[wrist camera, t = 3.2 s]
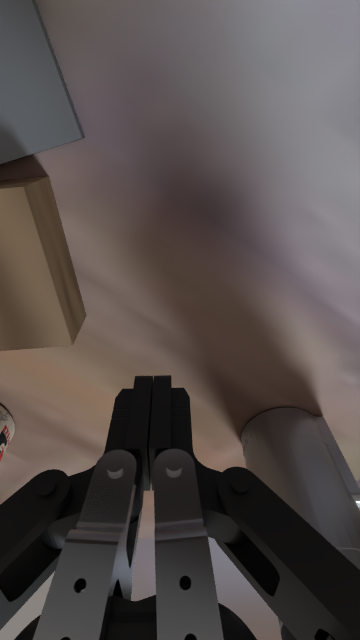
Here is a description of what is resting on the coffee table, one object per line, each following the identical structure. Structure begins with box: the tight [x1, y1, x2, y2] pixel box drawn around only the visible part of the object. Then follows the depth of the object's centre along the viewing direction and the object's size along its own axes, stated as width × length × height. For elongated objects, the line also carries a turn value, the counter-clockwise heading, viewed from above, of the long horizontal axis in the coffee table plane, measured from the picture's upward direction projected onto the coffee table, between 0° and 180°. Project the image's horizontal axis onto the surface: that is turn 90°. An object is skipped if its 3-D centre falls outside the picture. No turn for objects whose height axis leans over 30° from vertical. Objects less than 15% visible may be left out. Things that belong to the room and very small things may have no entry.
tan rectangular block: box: [0, 176, 86, 351], centre depth 26 cm, size 8×12×5 cm, turn 5°
